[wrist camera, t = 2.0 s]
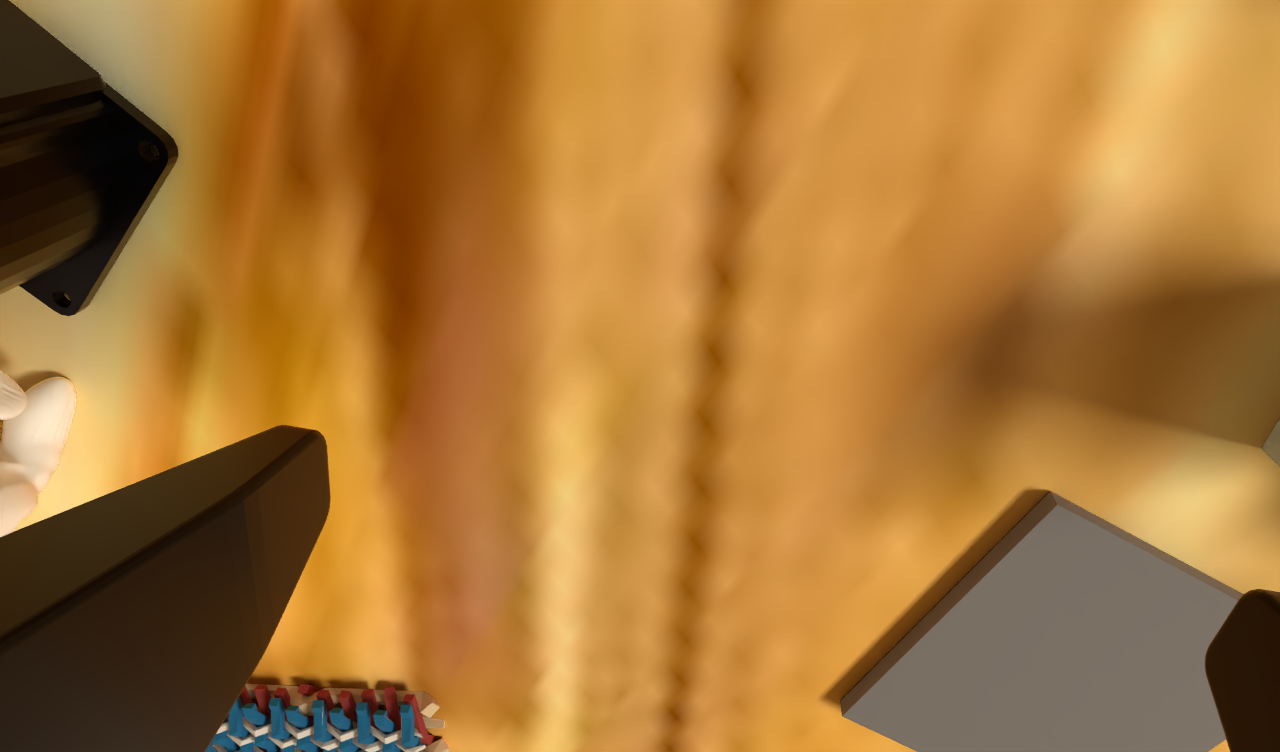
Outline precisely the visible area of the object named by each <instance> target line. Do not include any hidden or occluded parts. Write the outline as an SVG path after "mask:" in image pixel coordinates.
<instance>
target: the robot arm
mask: <svg viewBox="0 0 1280 752" xmlns="http://www.w3.org/2000/svg"><path fill="white" fill-rule="evenodd" d="M149 142H151V143H153V144H154V145H155V146H156V148H157V149H158V153H159V156H158V157H157V156H155V155H154V154H153V153H152V152H151V151H150V149H149V145H148V144H149ZM177 158H178V148H177V145H176V143H175V141H174V139H173V138H172V137H171V136H170V135H169V134H168V133H167V132H166V131H165V130H163V129H162V128H161V127H160V126H159V125H157V124H156V123H155V122H154V121H152V120H151V119H150V118H149V117H147V116H146V115H145V114H144V113H142V112H141V111H140V110H139V109H137V108H136V107H135V106H134V105H133V104H131V103H130V102H129V101H128V100H126V99H125V98H124V97H123V96H121V95H120V94H119V93H118V92H116V91H115V90H114V89H113V88H112V87H110V86H109V85H108V84H107V83H105V82H104V81H103V79H102V77H101V76H100V74H99V73H98V72H97V71H95V70H94V69H93V68H92V67H90V66H89V65H88V64H87V63H85V62H84V61H83V60H82V59H81V58H79V57H78V56H77V55H76V54H74V53H73V52H72V51H71V50H69V49H68V48H67V47H66V46H64V45H63V44H62V43H61V42H60V41H58V40H57V39H56V38H55V37H53V36H52V35H51V34H50V33H48V32H47V31H46V30H45V29H43V28H42V27H41V26H40V25H39V24H37V23H36V22H35V21H34V20H32V19H31V18H30V17H29V16H27V15H26V14H25V13H24V12H22V11H21V10H20V9H19V8H18V7H16V6H15V5H14V4H13V3H11V2H10V1H9V0H0V294H2V293H4V292H6V291H8V290H10V289H12V288H14V287H16V286H18V285H19V286H21V287H22V288H23V289H25V290H26V291H27V292H29V293H30V294H32V295H33V296H34V297H36V298H37V299H39V300H40V301H41V302H43V303H44V304H46V305H47V306H48V307H50V308H51V309H53V310H54V311H56V312H57V313H59V314H61V315H66V316H71V315H75V314H76V313H78V312H80V311H82V310H83V309H85V308H86V307H87V306H88V305H89V304H90V302H91V300H92V299H93V297H94V296H95V294H96V292H97V291H98V289H99V287H100V286H101V284H102V282H103V281H104V279H105V278H106V276H107V274H108V273H109V271H110V269H111V268H112V266H113V264H114V263H115V261H116V260H117V258H118V256H119V255H120V253H121V251H122V250H123V248H124V246H125V245H126V243H127V242H128V240H129V238H130V237H131V235H132V233H133V232H134V230H135V229H136V227H137V225H138V224H139V222H140V220H141V219H142V217H143V215H144V214H145V212H146V211H147V209H148V207H149V206H150V204H151V202H152V201H153V199H154V197H155V196H156V194H157V193H158V191H159V189H160V188H161V186H162V184H163V183H164V181H165V179H166V178H167V176H168V175H169V173H170V171H171V170H172V168H173V166H174V165H175V163H176V161H177ZM63 292H65V293H66V294H67V295H68V296H69V297H70V300H71V301H70V300H68V299H67V297H66V296H65V295H64V293H63ZM329 508H330V484H329V470H328V455H327V445H326V440H325V438H324V436H323V435H322V434H321V433H320V432H319V431H317V430H311V429H305V428H300V427H294V426H287V425H279V426H276V427H274V428H271V429H269V430H266V431H264V432H261V433H259V434H256V435H254V436H251V437H249V438H246V439H244V440H241V441H239V442H236V443H234V444H231V445H229V446H226V447H224V448H221V449H219V450H216V451H214V452H211V453H209V454H206V455H204V456H201V457H199V458H196V459H194V460H191V461H189V462H186V463H184V464H181V465H179V466H176V467H174V468H171V469H169V470H167V471H164V472H162V473H159V474H157V475H154V476H152V477H149V478H147V479H144V480H142V481H139V482H137V483H134V484H132V485H129V486H127V487H124V488H122V489H119V490H117V491H114V492H112V493H109V494H107V495H104V496H102V497H99V498H97V499H94V500H92V501H89V502H87V503H84V504H82V505H79V506H77V507H74V508H72V509H69V510H67V511H64V512H62V513H59V514H57V515H54V516H52V517H49V518H47V519H44V520H42V521H39V522H37V523H34V524H32V525H29V526H27V527H24V528H22V529H19V530H17V531H15V532H12V533H10V534H7V535H5V536H2V537H0V752H205V751H206V750H207V748H208V747H209V745H210V743H211V742H212V740H213V738H214V737H215V735H216V733H217V732H218V730H219V728H220V727H221V725H222V723H223V722H224V720H225V718H226V717H227V715H228V713H229V712H230V710H231V709H232V707H233V705H234V704H235V702H236V700H237V699H238V697H239V695H240V694H241V692H242V690H243V689H244V687H245V685H246V684H247V682H248V680H249V679H250V677H251V675H252V674H253V672H254V670H255V668H256V667H257V665H258V663H259V661H260V660H261V658H262V656H263V654H264V653H265V651H266V649H267V647H268V644H269V642H270V640H271V638H272V636H273V634H274V632H275V630H276V628H277V626H278V624H279V622H280V619H281V617H282V615H283V613H284V611H285V609H286V607H287V604H288V602H289V600H290V598H291V596H292V594H293V591H294V589H295V587H296V585H297V583H298V581H299V578H300V576H301V574H302V572H303V570H304V568H305V565H306V563H307V561H308V559H309V557H310V555H311V552H312V550H313V548H314V546H315V544H316V542H317V539H318V537H319V535H320V533H321V531H322V529H323V526H324V524H325V522H326V519H327V516H328V513H329ZM1205 672H1206V677H1207V680H1208V683H1209V686H1210V689H1211V692H1212V696H1213V699H1214V702H1215V705H1216V708H1217V711H1218V714H1219V718H1220V721H1221V724H1222V727H1223V730H1224V733H1225V736H1226V740H1227V743H1228V746H1229V749H1230V752H1280V592H1275V591H1269V590H1263V589H1256V590H1250V591H1248V592H1247V593H1245V594H1244V595H1242V596H1241V597H1240V599H1239V600H1238V601H1237V603H1236V605H1235V606H1234V608H1233V609H1232V611H1231V612H1230V614H1229V615H1228V617H1227V618H1226V620H1225V622H1224V623H1223V625H1222V626H1221V628H1220V629H1219V631H1218V632H1217V634H1216V635H1215V637H1214V638H1213V640H1212V642H1211V643H1210V645H1209V647H1208V649H1207V652H1206V655H1205Z"/></svg>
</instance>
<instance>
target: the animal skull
mask: <svg viewBox="0 0 1280 752" xmlns="http://www.w3.org/2000/svg"><path fill="white" fill-rule="evenodd" d="M76 397H77V392H76V390H75V387H74V385H73V384H72V382H71V381H70V380H68V379H66V378H64V377H51V378H48V379H45V380H42V381H40V382H39V383H37V384H35V385H34V386H32V387H31V388H29V389H28V390H27V391H25V392H24V391H23V390H22V389H21V387H20V386H19V385H18V384H17V383H16V382H15V381H14V380H13V379H12V378H10V377H9V376H8V375H7V374H5V373H4V372H2V371H1V370H0V420H3V429H2V438H1V442H0V537H2V536H5V535H7V534H10V533H12V532H14V531H15V529H16V528H17V526H18V525H19V523H20V522H21V521H22V520H23V519H24V518H25V517H27V516H28V515H29V514H30V513H31V512H32V511H33V510H34V509H35V508H36V506H37V504H38V494H39V493H40V492H41V491H42V490H43V489H44V488H45V486H46V485H47V484H48V482H49V480H50V478H51V476H52V474H53V473H54V472H55V470H56V469H57V467H58V465H59V462H60V457H61V452H62V450H63V447H64V445H65V442H66V440H67V437H68V433H69V429H70V426H71V422H72V419H73V415H74V411H75V407H76Z"/></svg>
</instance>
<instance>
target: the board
mask: <svg viewBox="0 0 1280 752" xmlns="http://www.w3.org/2000/svg"><path fill="white" fill-rule="evenodd" d="M1262 449H1263V450H1264V451H1265V452H1266V453H1267V454H1268V455H1269V456H1270V457H1271V458H1272V459H1273V460H1274V461H1275V462H1276V463H1277V464H1278V465H1279V466H1280V419H1279V421H1278V422H1277V424H1276V426H1275V427H1274V429H1273V431H1272V432H1271V434H1270V435H1269V437H1268V439H1267V440H1266V442H1265V444H1264V445H1263V447H1262Z"/></svg>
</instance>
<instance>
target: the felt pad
mask: <svg viewBox="0 0 1280 752" xmlns="http://www.w3.org/2000/svg"><path fill="white" fill-rule="evenodd" d="M1242 595H1243V594H1242V593H1240V592H1238V591H1236V590H1234V589H1232V588H1230V587H1228V586H1227V585H1225V584H1223V583H1221V582H1219V581H1217V580H1215V579H1214V578H1212V577H1210V576H1208V575H1206V574H1204V573H1202V572H1200V571H1199V570H1197V569H1195V568H1193V567H1191V566H1189V565H1187V564H1185V563H1184V562H1182V561H1180V560H1178V559H1176V558H1174V557H1172V556H1170V555H1169V554H1167V553H1165V552H1163V551H1161V550H1159V549H1157V548H1155V547H1154V546H1152V545H1150V544H1148V543H1146V542H1144V541H1142V540H1141V539H1139V538H1137V537H1135V536H1133V535H1131V534H1129V533H1127V532H1126V531H1124V530H1122V529H1120V528H1118V527H1116V526H1114V525H1112V524H1111V523H1109V522H1107V521H1105V520H1103V519H1101V518H1099V517H1097V516H1096V515H1094V514H1092V513H1090V512H1088V511H1086V510H1084V509H1082V508H1081V507H1079V506H1077V505H1075V504H1073V503H1071V502H1069V501H1068V500H1066V499H1064V498H1062V497H1060V496H1058V495H1056V494H1054V493H1053V492H1051V491H1050V492H1049V493H1048V494H1047V495H1046V496H1045V497H1044V498H1043V499H1042V500H1041V501H1040V502H1039V503H1038V504H1037V505H1036V506H1035V507H1034V508H1033V509H1032V510H1031V511H1030V512H1029V513H1028V514H1027V515H1026V516H1025V517H1024V518H1023V519H1022V520H1021V521H1020V522H1019V523H1018V524H1017V525H1016V526H1015V527H1014V528H1013V529H1012V530H1011V531H1010V532H1009V533H1008V534H1007V535H1006V536H1005V537H1004V538H1003V539H1002V540H1001V541H1000V542H999V543H998V544H997V545H996V546H995V547H994V548H993V549H992V550H991V551H990V552H989V553H988V554H987V555H986V556H985V557H984V558H983V559H982V560H981V561H980V562H979V563H978V564H977V565H976V566H975V567H974V568H973V569H972V570H971V571H970V572H969V573H968V574H967V575H966V576H965V577H964V578H963V579H962V580H961V581H960V582H959V583H958V584H957V585H956V586H955V587H954V588H953V589H952V590H951V591H950V592H949V593H948V594H947V595H946V596H945V597H944V598H943V599H942V600H941V601H940V602H939V603H938V604H937V605H936V606H935V607H934V608H933V609H932V610H931V611H930V612H929V613H928V614H927V615H926V616H925V617H924V618H923V619H922V620H921V621H920V622H919V623H918V624H917V625H916V626H915V627H914V628H913V629H912V630H911V631H910V632H909V633H908V634H907V635H906V636H905V637H904V638H903V639H902V640H901V641H900V642H899V643H898V644H897V645H896V646H895V647H894V648H893V649H892V650H891V651H890V652H889V653H888V654H887V655H886V656H885V657H884V658H883V659H882V660H881V661H880V662H879V663H878V664H877V665H876V666H875V667H874V668H873V669H872V670H871V671H870V672H869V673H868V674H867V675H866V676H865V677H864V678H863V679H862V680H861V681H860V682H859V683H858V684H857V685H856V686H855V687H854V688H853V689H852V690H851V691H850V692H849V693H848V694H847V695H846V696H845V697H844V698H843V699H842V700H841V701H840V703H841V711H842V716H843V717H845V718H847V719H849V720H851V721H853V722H855V723H858V724H860V725H862V726H864V727H866V728H868V729H870V730H873V731H875V732H877V733H879V734H881V735H883V736H885V737H888V738H890V739H892V740H894V741H896V742H898V743H900V744H902V745H905V746H907V747H909V748H911V749H913V750H915V751H917V752H1208V751H1210V750H1211V749H1212V748H1214V747H1215V746H1217V745H1218V744H1220V743H1221V742H1222V741H1224V740H1225V739H1226V736H1225V733H1224V730H1223V727H1222V724H1221V721H1220V718H1219V714H1218V711H1217V708H1216V705H1215V702H1214V699H1213V696H1212V692H1211V689H1210V686H1209V683H1208V680H1207V677H1206V672H1205V655H1206V652H1207V649H1208V647H1209V645H1210V643H1211V642H1212V640H1213V638H1214V637H1215V635H1216V634H1217V632H1218V631H1219V629H1220V628H1221V626H1222V625H1223V623H1224V622H1225V620H1226V618H1227V617H1228V615H1229V614H1230V612H1231V611H1232V609H1233V608H1234V606H1235V605H1236V603H1237V601H1238V600H1239V599H1240V597H1241V596H1242Z"/></svg>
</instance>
